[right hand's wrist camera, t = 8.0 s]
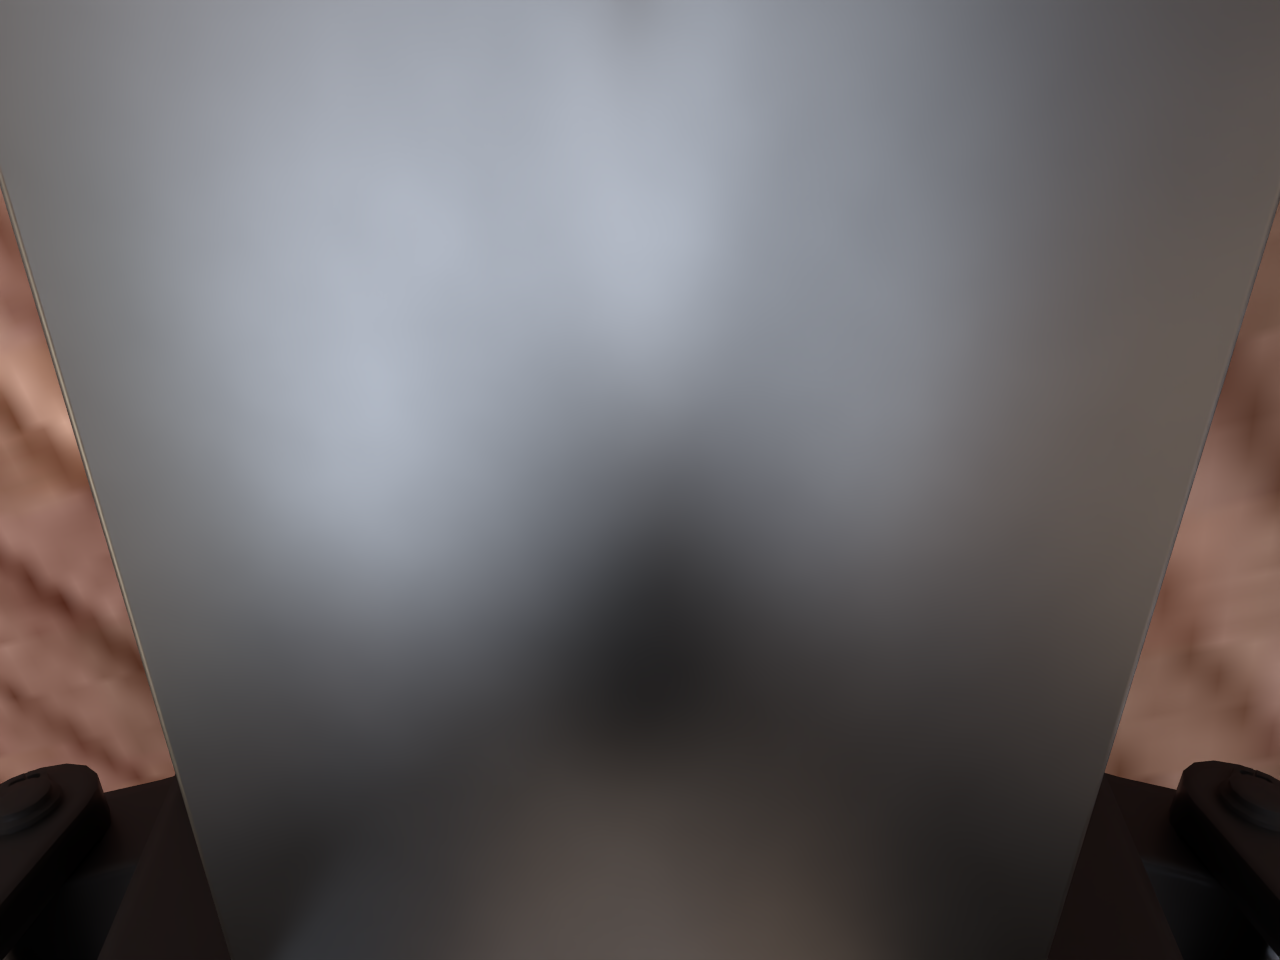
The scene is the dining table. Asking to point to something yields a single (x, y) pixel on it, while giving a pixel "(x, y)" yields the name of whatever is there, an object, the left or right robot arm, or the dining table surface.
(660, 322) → the box
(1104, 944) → the right robot arm
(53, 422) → the dining table surface
